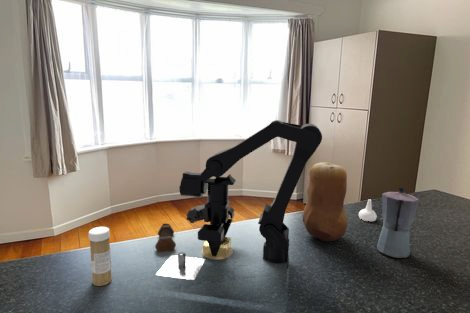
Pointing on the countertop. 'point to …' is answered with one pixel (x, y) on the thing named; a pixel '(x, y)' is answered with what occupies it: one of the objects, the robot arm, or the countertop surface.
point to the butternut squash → (326, 202)
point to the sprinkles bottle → (100, 255)
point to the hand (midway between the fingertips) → (217, 250)
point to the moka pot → (397, 223)
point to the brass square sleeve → (222, 250)
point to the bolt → (165, 239)
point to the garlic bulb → (368, 213)
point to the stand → (219, 257)
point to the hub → (181, 267)
